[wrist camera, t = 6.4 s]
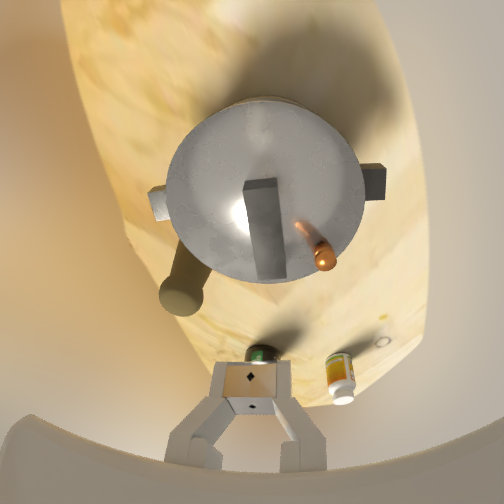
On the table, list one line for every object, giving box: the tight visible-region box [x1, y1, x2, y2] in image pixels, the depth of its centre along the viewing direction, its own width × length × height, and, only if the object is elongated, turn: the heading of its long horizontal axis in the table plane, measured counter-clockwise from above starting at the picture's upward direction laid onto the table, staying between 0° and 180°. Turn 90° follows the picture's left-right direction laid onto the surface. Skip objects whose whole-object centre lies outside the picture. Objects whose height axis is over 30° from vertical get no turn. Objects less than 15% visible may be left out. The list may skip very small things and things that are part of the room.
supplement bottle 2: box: [326, 353, 356, 405], centre depth 48 cm, size 5×5×10 cm
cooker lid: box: [166, 100, 365, 284], centre depth 21 cm, size 16×16×4 cm
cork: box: [159, 239, 212, 317], centre depth 34 cm, size 6×6×11 cm
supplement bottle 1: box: [244, 345, 280, 362], centre depth 47 cm, size 7×7×12 cm
